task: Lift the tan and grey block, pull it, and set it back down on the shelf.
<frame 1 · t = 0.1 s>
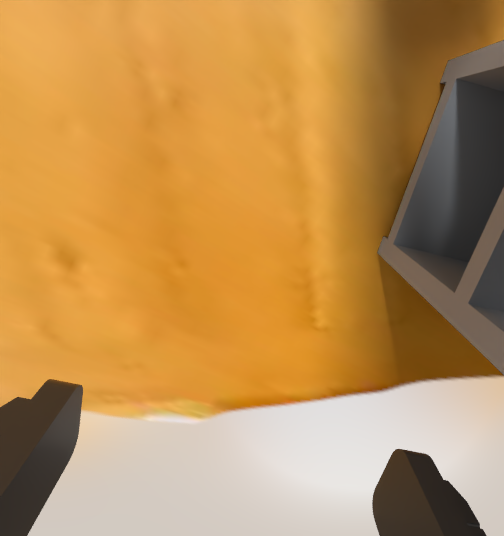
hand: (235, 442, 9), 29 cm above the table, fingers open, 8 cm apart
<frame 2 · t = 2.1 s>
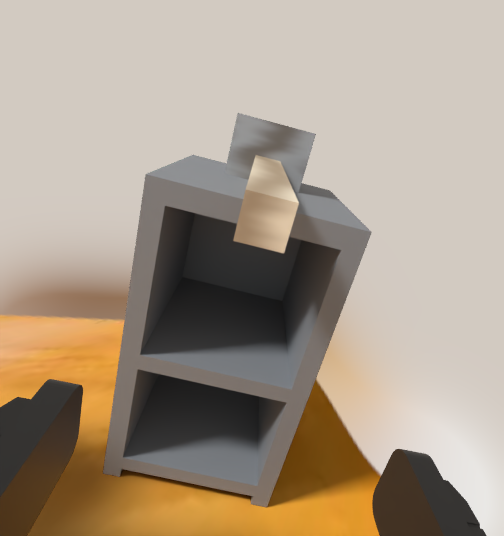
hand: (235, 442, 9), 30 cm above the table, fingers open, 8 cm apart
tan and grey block: (261, 179, 42), point 32 cm above the table, touching shelf
shelf: (200, 421, 49), on the table
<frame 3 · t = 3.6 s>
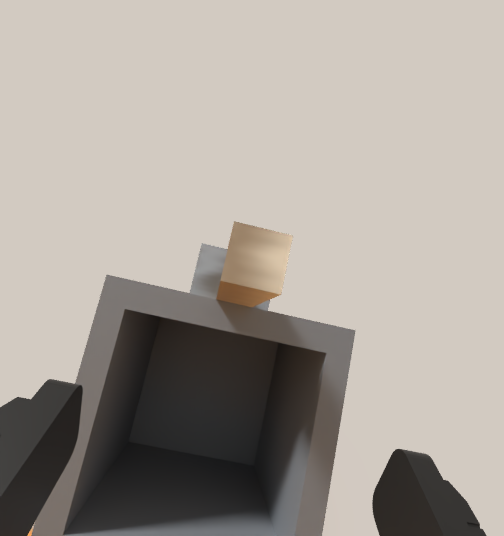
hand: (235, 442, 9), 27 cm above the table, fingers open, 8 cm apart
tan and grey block: (225, 311, 40), point 32 cm above the table, touching shelf
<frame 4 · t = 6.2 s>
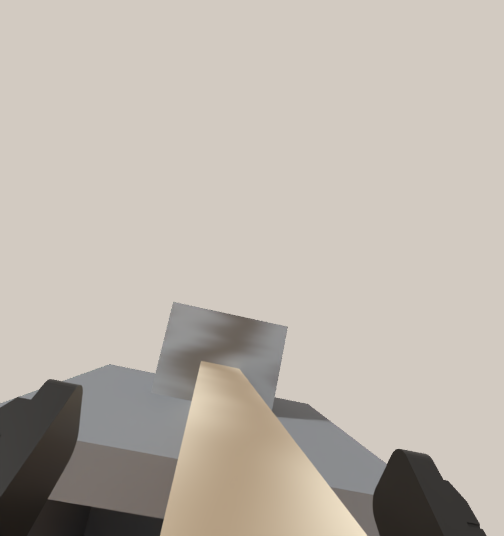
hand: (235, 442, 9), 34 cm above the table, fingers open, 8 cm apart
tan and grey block: (211, 396, 27), point 32 cm above the table, touching shelf
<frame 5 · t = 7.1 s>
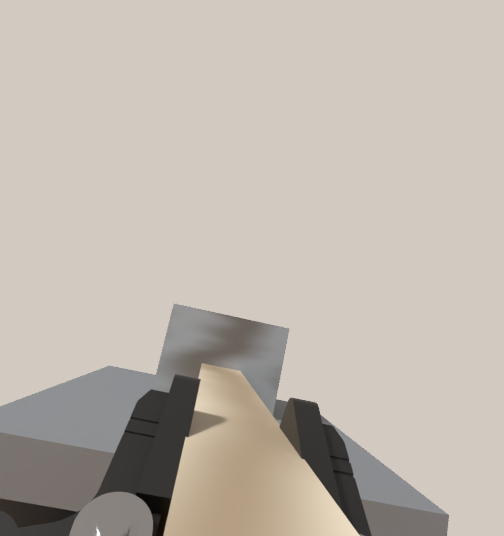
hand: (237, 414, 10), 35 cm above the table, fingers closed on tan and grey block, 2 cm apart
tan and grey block: (211, 398, 27), point 32 cm above the table, touching gripper, shelf
when the fingers open (36 cm above the table, at t = 10.5 s): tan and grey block stays where it is, resting on shelf.
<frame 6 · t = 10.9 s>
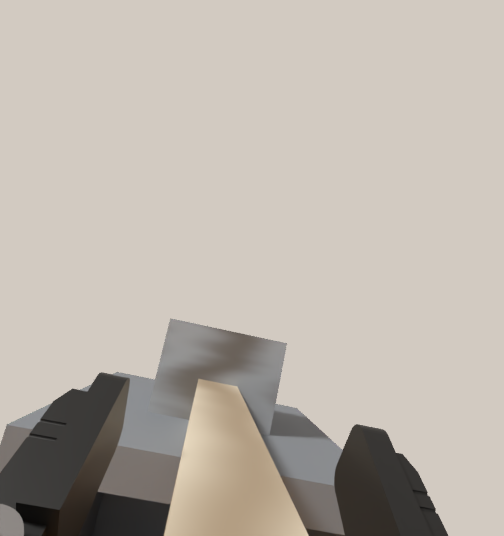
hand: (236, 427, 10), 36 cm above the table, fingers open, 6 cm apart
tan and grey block: (209, 413, 27), point 32 cm above the table, touching shelf
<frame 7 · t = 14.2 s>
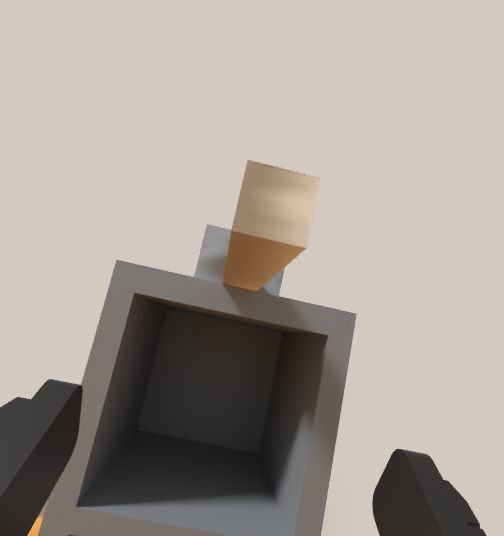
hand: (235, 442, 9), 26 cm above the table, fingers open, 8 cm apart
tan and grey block: (233, 298, 37), point 32 cm above the table, touching shelf
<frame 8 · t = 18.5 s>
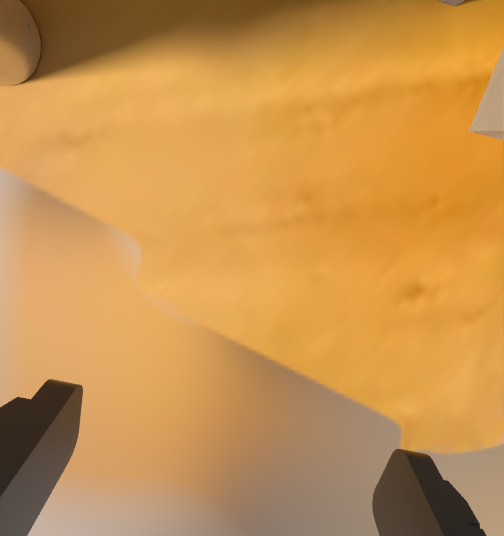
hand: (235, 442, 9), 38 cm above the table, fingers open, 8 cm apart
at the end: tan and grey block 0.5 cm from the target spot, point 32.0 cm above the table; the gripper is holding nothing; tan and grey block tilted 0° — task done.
